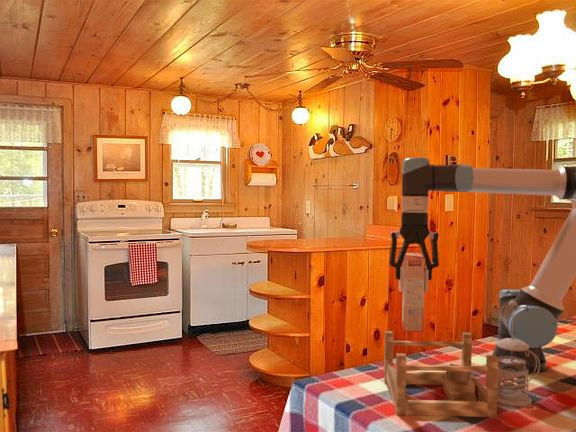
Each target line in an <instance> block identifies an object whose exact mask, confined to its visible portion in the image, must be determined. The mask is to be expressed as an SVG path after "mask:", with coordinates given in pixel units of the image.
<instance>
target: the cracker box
mask: <svg viewBox="0 0 576 432" xmlns="http://www.w3.org/2000/svg"><path fill="white" fill-rule="evenodd" d="M402 265H403V267H402V268H403V292H402V300H401V301H402V306H401V310H402V312H401V313H402V314H401V320H402V323H401V324H402V331H403V332H410V333H424V322H425V321H424V319H425V318H424V315H425V291H424V282H425V268H426V264H425V258H424V256H423V254H422V252H421V253H420V252H419V253H418V252H406V254H405V256H404V260H403V263H402Z"/></svg>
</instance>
